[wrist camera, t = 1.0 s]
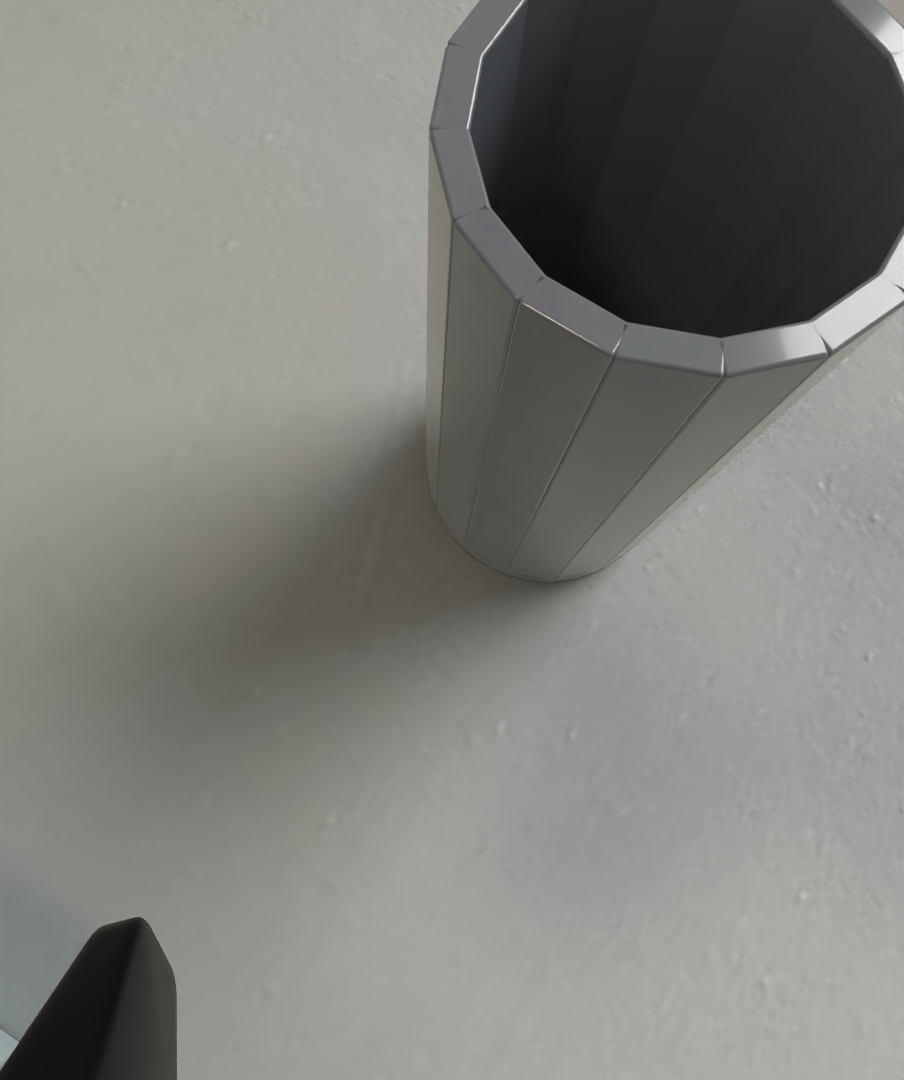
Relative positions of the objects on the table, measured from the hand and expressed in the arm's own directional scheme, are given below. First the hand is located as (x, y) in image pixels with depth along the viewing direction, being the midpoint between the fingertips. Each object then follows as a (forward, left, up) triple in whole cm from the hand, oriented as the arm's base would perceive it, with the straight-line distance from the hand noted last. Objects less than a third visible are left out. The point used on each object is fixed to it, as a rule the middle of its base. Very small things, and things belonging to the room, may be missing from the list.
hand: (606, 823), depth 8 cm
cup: (+3, -8, -13) cm, 15 cm away
